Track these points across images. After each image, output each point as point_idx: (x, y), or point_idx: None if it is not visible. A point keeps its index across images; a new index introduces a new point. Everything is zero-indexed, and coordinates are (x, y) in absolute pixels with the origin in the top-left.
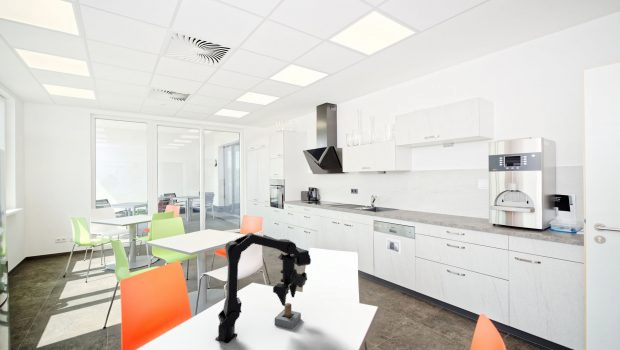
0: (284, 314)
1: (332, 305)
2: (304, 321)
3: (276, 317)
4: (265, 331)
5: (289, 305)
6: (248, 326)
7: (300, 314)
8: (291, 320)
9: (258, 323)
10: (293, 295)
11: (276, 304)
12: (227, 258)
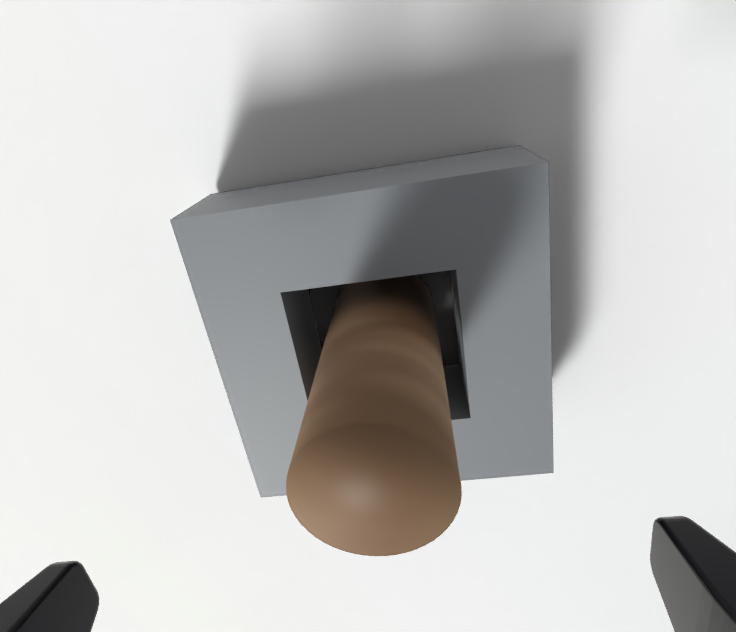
0: None
1: None
2: (215, 110)
3: (527, 460)
4: (705, 415)
5: (388, 448)
6: None
7: (194, 211)
8: (496, 213)
9: (578, 555)
10: (45, 620)
11: (147, 609)
12: None
